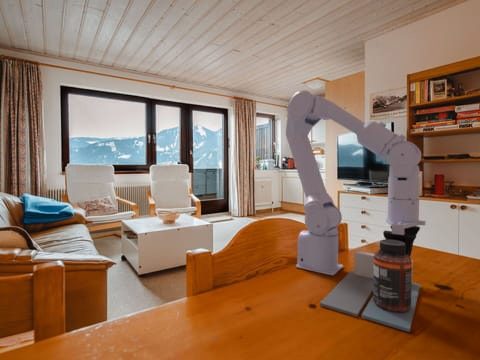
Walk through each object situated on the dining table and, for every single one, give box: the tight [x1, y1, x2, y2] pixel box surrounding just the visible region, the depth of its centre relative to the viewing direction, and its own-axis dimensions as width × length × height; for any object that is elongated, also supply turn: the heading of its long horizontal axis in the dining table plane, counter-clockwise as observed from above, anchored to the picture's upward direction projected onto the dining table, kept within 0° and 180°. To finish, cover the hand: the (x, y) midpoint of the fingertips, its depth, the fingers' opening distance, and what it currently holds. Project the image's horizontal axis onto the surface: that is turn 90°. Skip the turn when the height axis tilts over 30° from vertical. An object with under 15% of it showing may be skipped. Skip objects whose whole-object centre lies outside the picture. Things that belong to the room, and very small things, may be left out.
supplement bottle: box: [372, 239, 413, 312], centre depth 49 cm, size 6×6×11 cm
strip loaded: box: [361, 259, 421, 333], centre depth 52 cm, size 7×21×6 cm, turn 143°
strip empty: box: [319, 250, 375, 318], centre depth 56 cm, size 6×21×6 cm, turn 143°
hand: (401, 262), depth 59 cm, fingers open, 7 cm apart
